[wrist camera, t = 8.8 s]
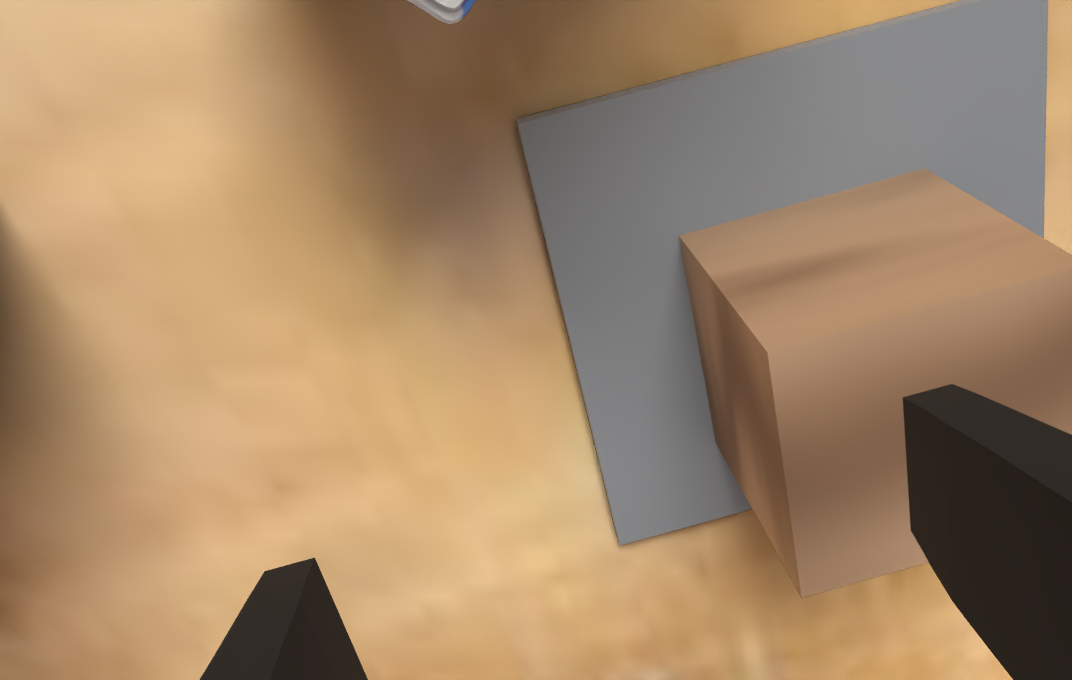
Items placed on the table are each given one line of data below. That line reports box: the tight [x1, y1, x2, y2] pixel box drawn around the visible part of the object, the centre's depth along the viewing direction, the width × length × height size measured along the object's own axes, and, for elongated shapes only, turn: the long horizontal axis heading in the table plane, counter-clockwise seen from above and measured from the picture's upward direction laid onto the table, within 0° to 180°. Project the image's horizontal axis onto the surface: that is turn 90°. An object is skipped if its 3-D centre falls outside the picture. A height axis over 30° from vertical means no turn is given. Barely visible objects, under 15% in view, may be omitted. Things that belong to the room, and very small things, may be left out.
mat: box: [516, 0, 1048, 545], centre depth 22 cm, size 11×11×1 cm
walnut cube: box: [679, 168, 1072, 598], centre depth 20 cm, size 6×6×6 cm
